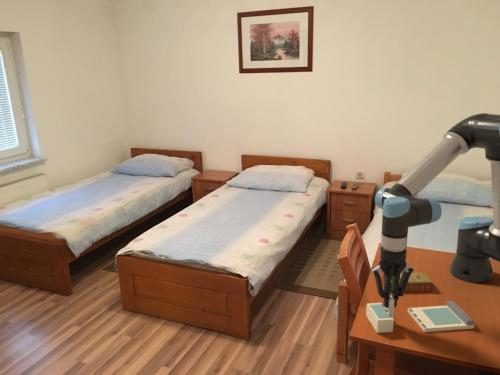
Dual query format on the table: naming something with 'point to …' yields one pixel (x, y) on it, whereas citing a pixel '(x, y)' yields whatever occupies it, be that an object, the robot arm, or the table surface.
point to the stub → (379, 317)
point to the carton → (416, 282)
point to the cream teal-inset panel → (441, 317)
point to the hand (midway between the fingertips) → (389, 315)
